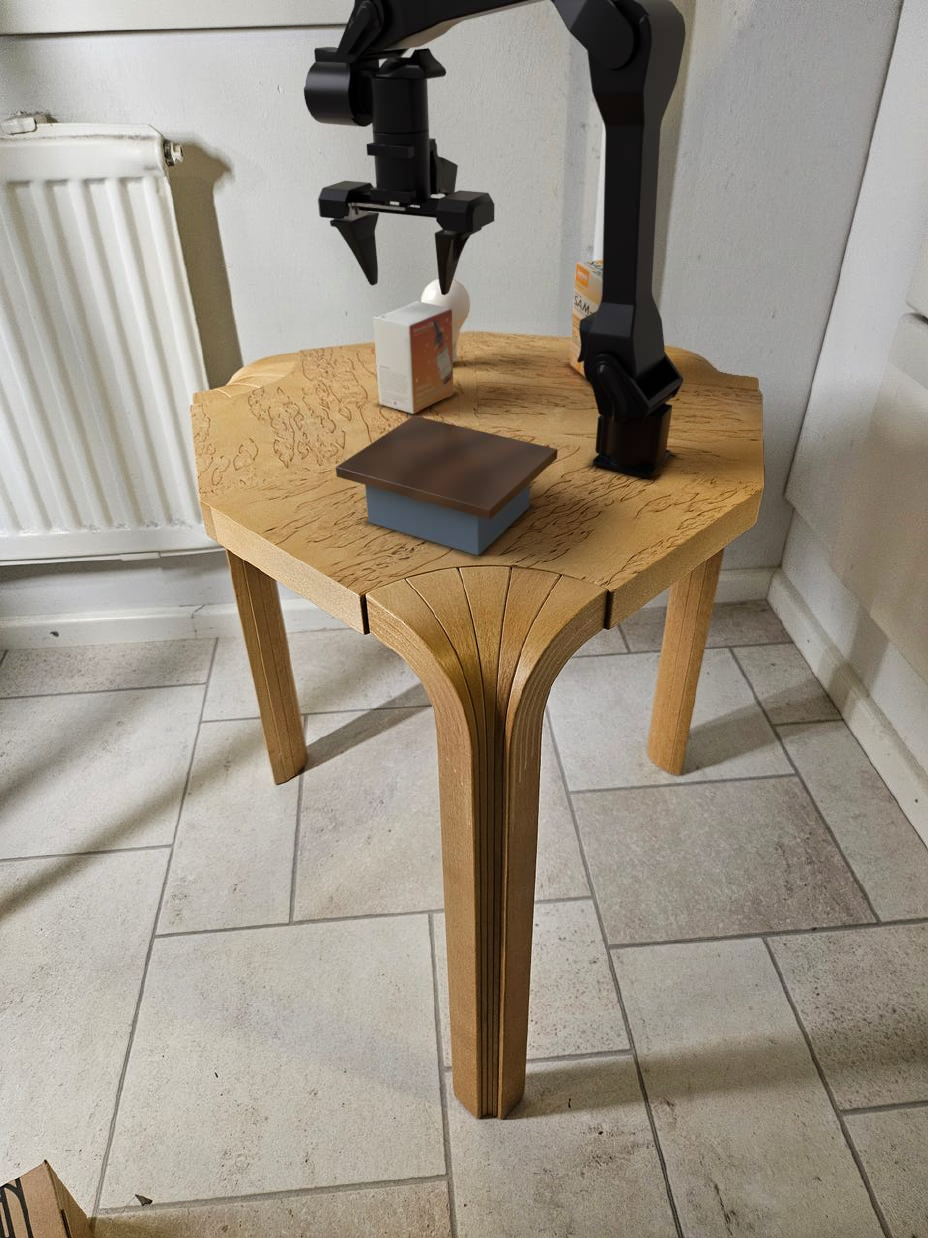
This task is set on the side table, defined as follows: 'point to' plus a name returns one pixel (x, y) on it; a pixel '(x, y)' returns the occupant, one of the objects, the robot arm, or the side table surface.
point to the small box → (414, 356)
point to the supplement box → (584, 303)
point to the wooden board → (449, 465)
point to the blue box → (441, 519)
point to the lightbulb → (450, 305)
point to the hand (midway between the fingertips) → (409, 289)
